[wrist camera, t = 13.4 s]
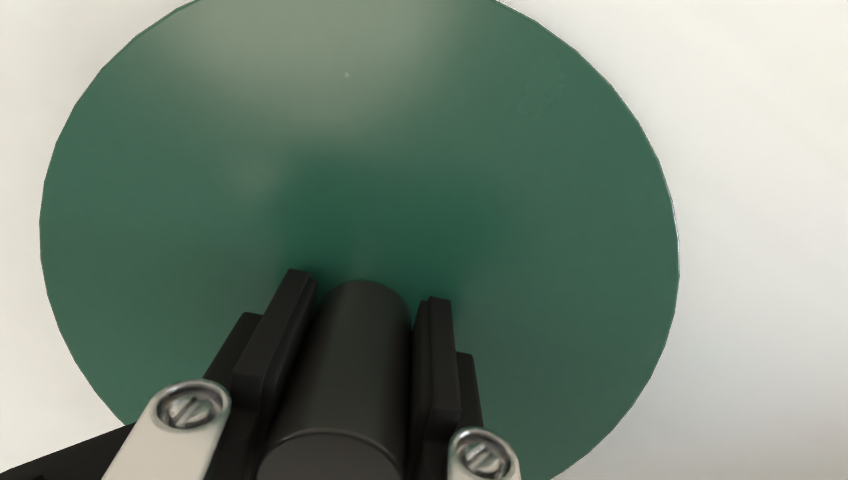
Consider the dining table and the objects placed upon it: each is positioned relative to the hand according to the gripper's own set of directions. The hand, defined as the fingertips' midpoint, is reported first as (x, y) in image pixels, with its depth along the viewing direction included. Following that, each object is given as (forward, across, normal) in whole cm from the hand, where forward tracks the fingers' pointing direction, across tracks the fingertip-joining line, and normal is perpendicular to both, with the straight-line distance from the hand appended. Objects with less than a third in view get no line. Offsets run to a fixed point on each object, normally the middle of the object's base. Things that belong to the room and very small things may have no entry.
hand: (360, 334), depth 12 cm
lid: (+1, 0, 0) cm, 1 cm away
